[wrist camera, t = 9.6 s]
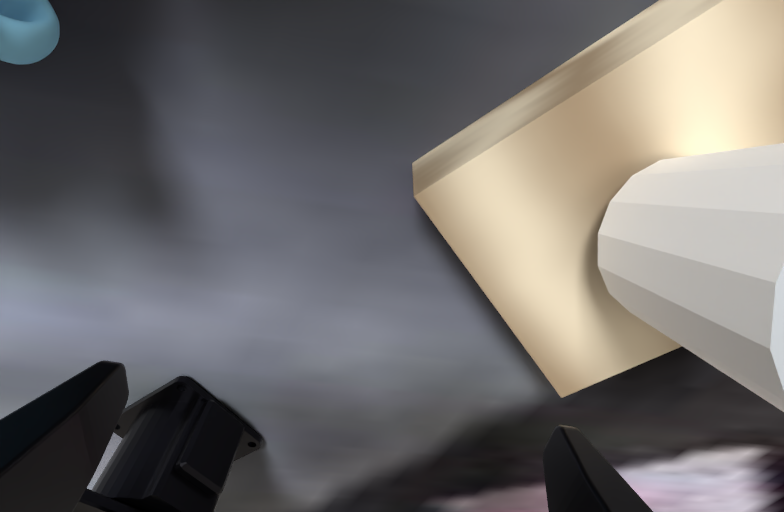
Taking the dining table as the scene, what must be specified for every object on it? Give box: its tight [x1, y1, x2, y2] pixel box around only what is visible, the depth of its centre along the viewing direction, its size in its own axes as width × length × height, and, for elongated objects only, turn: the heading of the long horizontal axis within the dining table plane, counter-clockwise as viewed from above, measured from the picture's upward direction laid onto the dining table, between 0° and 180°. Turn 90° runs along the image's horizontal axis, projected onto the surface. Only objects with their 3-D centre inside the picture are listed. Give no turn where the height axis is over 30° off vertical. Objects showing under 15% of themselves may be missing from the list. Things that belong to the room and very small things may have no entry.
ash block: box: [412, 0, 784, 398], centre depth 19 cm, size 12×12×4 cm
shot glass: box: [598, 143, 784, 412], centre depth 13 cm, size 7×7×7 cm
